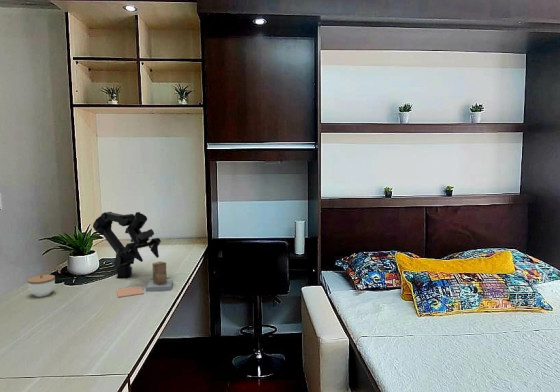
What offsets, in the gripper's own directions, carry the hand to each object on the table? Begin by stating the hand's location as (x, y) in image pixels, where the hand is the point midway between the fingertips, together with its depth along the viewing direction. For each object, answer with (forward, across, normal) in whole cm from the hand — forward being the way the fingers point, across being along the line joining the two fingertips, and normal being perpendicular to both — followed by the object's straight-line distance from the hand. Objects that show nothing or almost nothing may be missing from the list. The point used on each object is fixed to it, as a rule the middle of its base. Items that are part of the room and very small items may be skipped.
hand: (150, 259), depth 196 cm
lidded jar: (-11, -38, +29) cm, 49 cm away
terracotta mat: (+10, -13, +8) cm, 18 cm away
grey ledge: (+14, 0, +4) cm, 15 cm away
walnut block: (+12, 0, +3) cm, 13 cm away
